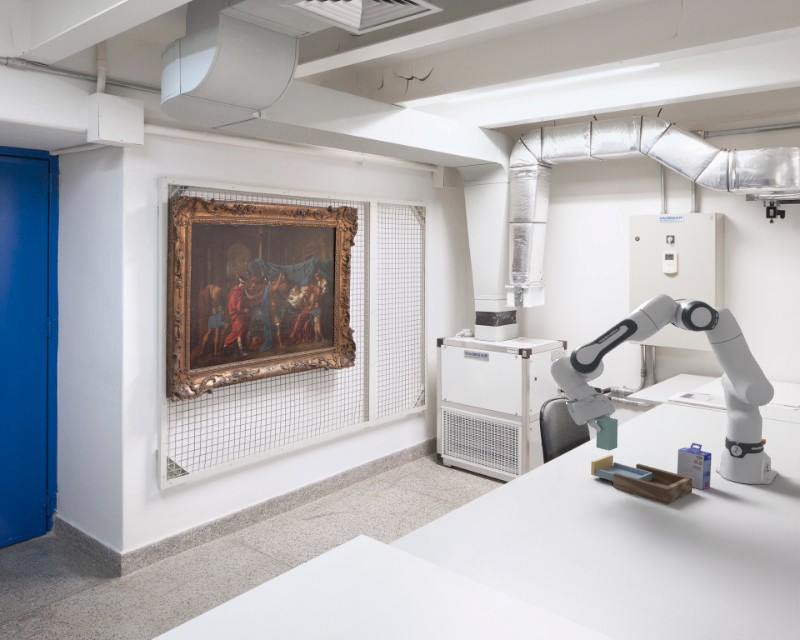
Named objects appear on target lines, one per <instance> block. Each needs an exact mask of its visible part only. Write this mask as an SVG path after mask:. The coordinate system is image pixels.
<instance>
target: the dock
mask: <svg viewBox="0 0 800 640" xmlns="http://www.w3.org/2000/svg"><path fill="white" fill-rule="evenodd" d="M635 468H638V469H641V470H645V471H648V472H652V473H653V479H652V480H651V481H649V482H647V481H643V480H640V479H637V478H633V477H630V476H626V475H623V474H619V473H614V476H613V481H612V482H613V483H612V486H613V488H614V489H617V490H620V491H624V492H626V493H630V494H633V495H636V496H640V497H643V498H646V499H649V500H652V501H656V502H660V503H662V504H665V505H669V504H671V503H673V502H675V501H677V500H680V499H682V498H684V497H686V496H687V495H689V494H691V493H693V487H692V478H690V477H686V476H683V475H679V474H677V473H675V472H672V471H667V470H663V469H660V468H656V467H652V466H649V465H644V464H641V463H637V464H635Z"/></svg>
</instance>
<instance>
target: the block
mask: <svg viewBox="0 0 800 640" xmlns="http://www.w3.org/2000/svg"><path fill="white" fill-rule="evenodd" d="M618 421H619V420H618V419H617V418H611V417H610V418H609V417H603V418H599V419H597V420H596V423H597V424H598V425H601V427H602V428H603V430H602V431H601V432H597V431H596V448H597V449H601V450H605V451H612V450H615V449H617V448H618V427H619V426H618V425H619V423H618Z"/></svg>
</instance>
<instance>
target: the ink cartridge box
mask: <svg viewBox="0 0 800 640" xmlns="http://www.w3.org/2000/svg"><path fill="white" fill-rule="evenodd" d="M694 446H697V447H698V448H697V447H694ZM702 448H703V445H702V444H699V443H696V442H692V443H691V444H690V447H687V446H684V447H682V448H679V449H678V450H677V463H676V464H677V466H676V467H677V468H676V474H679V475H683V476H686V477H690V478H692V488H696V489H700V490H704V489H708V488H710V487H711V476H712V475H711V474H712V473H711V471H712V470H711V469H712V452H708V451H704V450H702Z"/></svg>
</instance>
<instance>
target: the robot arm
mask: <svg viewBox="0 0 800 640" xmlns="http://www.w3.org/2000/svg"><path fill="white" fill-rule="evenodd" d="M669 324H671V325H672V326H674V327H676V328H679V329H681V330H683V331H692V332H704V334H706V337H707V339H708V343H709V345H710V348H711V350H712V352H713V354H714V356H715V358H716V361H717V363H718V365H719V366H720V367H721V368H722V370H723V371H724V372H723V374H722V376H721V379H720V382H721V385H722V389H723V393H724V400H725V401H724V402H725V406H726V414H727V423H726V425H727V427H726V429H727V430H726V437H725V441H724V446H725V448H723V449H722V450H721V453H720V457H719V458H720V461H719V466H717V467H715V472H717V473H718V474H720V476H721V477H722V478H724V479H726V480H728V481H732V482H736V483H740V484H751V485H753V484H755V485H756V484H757V485H758V484H763V485H771V484H772V482H773V481H774V480H775V478H776V477H777V476H778V474H779V471H778V470H777V469H775V468H772V459H771V458H772V457H770V456H769V455H768V454H767V452H766V451H764V450H765V448H764V446H765V445H766V443H767V440H766V438H762V437H763V417H762V415H761V411H760V407H763V406H767V405H768V404H769V403H770V402H771V401H773V399H774V395H775V389H774V386H773V384H772V383H771V382H770V381H769V379H768V378H767V376H766V375H765V373H764V370H763V369H762V367H761V366H760V364H759V363H758V361H757V360H756V359H755V357H754V355H753V354H752V352H751V350H750V347H749V345H748V342H747V340H746V338H745V335H744V333H743V331H742V329H741V326H740V324H739V323H738V321H737V319H736V317H735V316H734V314H733V313H732V312H731V310H730V309H729V308H728V307H724V306H716V307H715V306H714V307H712V306H711V305H710V304H708V303H706V302H705V301H702V300H697V299H693V298H691V299H690V298H689V299H685V298H682V299H675V300H674V299H673V298H672V297H671V296H670V295H668V294H666V293H659V294H656V295H654V296H652V297H650V298H649V299H647V300H645V301H644V302H642V303H641V304H640V305H639V306H637V307H636V308H634V310H632V311H631V312H630V313H629V314H627V315H626V316H625V317H624V318H623V319H622V320H620V321H619V322H618V323H617V324H615V325H613V326H612V327H610V328H609V329H607V331H605V332H604V333H602V334H601V335H599V336H598V337H596V338H595V339H593V340H591V341H590V342H586V343H582V344H579V345H577V346H576V347H575V348H573V350H572V351H571V354H570V356H565V355H564V356H560V357H558V358H557V359H555V361H554V362H553V363H552V364H551V366H550V374H551V376H552V378H553V380H554V382H556V384H557V386H558V387H559V388H560V389H561V390H562V391H563V392H564V394H565V396H566V398H567V399H568V401H566V407H567V409H568V412H569V415H570V416H571V418H572V420H573V421H574V423H575V424H576V425H578V426H583V425H586V424H588V425H589V426H590V427H591V428H593V429H595V431H596V433H597V432H601V431H602V430H603V428H602V427H601V425H598V424H597V419H599V418H603V417H609V418H611V417H612V415H614V413H615V412H616V407H615V405H614V404H613V403H612V401H611V400H610V398H609V397H608V396H607V395H606V394H604V390H603V389H602V388H601V387H596V386H592V385H590V384H588V382H591V381H593V380H595V379H597V378H599V377H600V376H601V375H602V374H603V373H604V370H605V369H604V368H605V365H604V361H603V358H604V357H605V356H606V355H607V354H609V353H610V352H612V351H613V350H615V349H616V348H617V347H618V346H620V345H621V344H623V343H625V342H630V341H631V342H632V341H634V342H643V341H645V340H647V339H649V338H651V337H653V336H654V335H656V334H657V333H658V332H659V331H660V330H661V329H663V328H664V327H665V326H667V325H669Z"/></svg>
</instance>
